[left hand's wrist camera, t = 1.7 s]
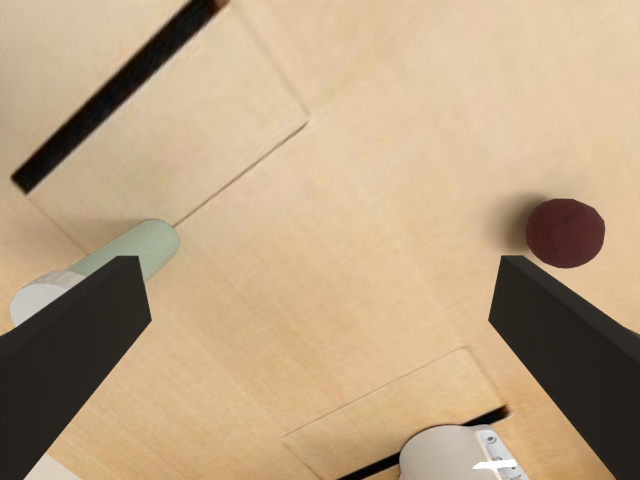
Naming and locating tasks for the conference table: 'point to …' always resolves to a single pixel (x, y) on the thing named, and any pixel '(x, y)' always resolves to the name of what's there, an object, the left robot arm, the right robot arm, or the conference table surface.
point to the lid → (41, 294)
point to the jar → (135, 249)
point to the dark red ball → (565, 233)
